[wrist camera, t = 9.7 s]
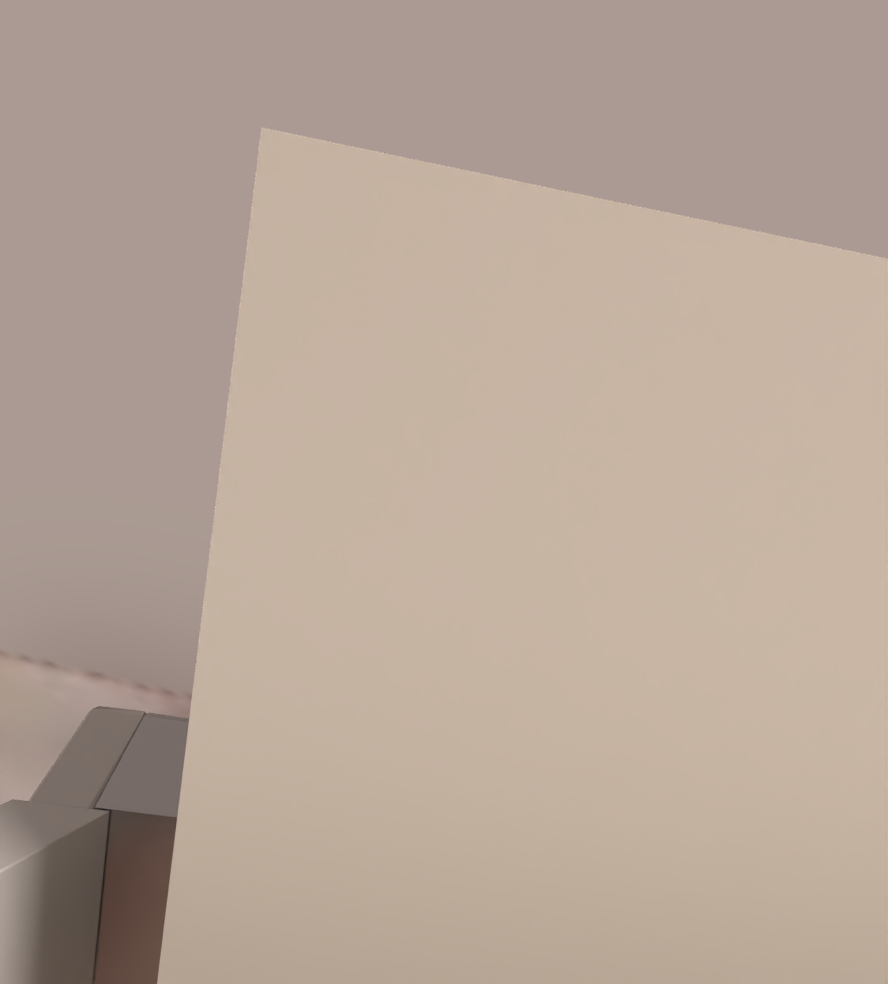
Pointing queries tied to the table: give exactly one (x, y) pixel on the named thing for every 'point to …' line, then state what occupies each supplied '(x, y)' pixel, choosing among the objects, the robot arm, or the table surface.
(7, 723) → the table surface
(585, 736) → the box
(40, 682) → the table surface
